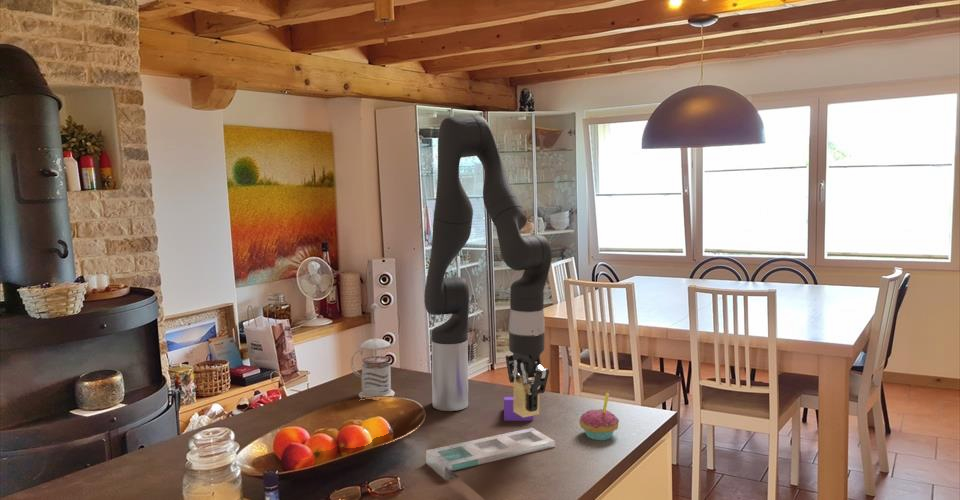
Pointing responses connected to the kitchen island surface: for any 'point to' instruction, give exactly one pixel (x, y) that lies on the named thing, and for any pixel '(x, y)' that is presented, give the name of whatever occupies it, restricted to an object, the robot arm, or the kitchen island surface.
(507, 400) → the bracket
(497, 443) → the white compartment tray
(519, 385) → the brass block
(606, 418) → the cupcake
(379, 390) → the french press
